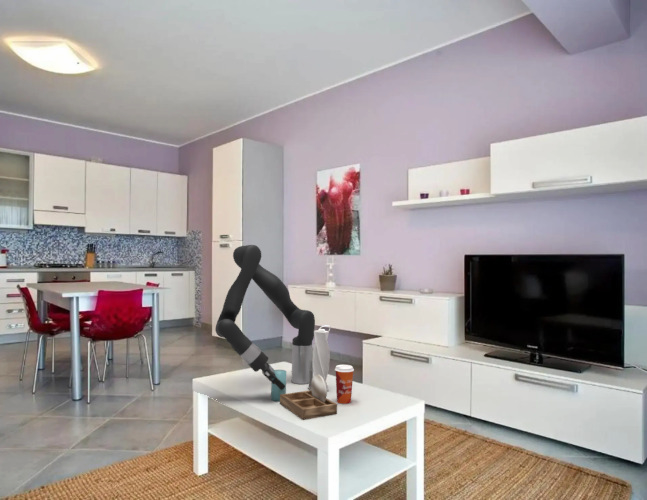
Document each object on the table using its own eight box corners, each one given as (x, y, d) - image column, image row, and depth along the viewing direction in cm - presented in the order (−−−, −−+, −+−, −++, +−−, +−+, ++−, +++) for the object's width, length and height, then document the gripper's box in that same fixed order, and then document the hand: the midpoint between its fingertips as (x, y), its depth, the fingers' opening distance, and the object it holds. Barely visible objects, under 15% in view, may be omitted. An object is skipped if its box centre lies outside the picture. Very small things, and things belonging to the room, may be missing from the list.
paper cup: (340, 405, 172) (340, 369, 172) (330, 400, 179) (331, 365, 179) (357, 403, 175) (358, 367, 176) (347, 397, 182) (348, 363, 183)
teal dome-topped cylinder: (282, 395, 183) (282, 369, 184) (288, 399, 178) (288, 372, 178) (268, 397, 180) (269, 370, 181) (274, 401, 175) (275, 373, 176)
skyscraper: (325, 386, 198) (326, 324, 198) (332, 391, 190) (333, 326, 191) (307, 388, 194) (308, 324, 195) (314, 393, 187) (315, 327, 188)
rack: (311, 398, 180) (312, 369, 180) (336, 413, 163) (337, 380, 163) (279, 403, 173) (280, 372, 173) (302, 419, 156) (303, 385, 156)
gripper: (261, 353, 172) (291, 384, 173) (260, 346, 186) (288, 374, 187) (247, 368, 171) (277, 398, 172) (247, 359, 185) (275, 387, 186)
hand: (282, 385), depth 180 cm, fingers closed on teal dome-topped cylinder, 6 cm apart
